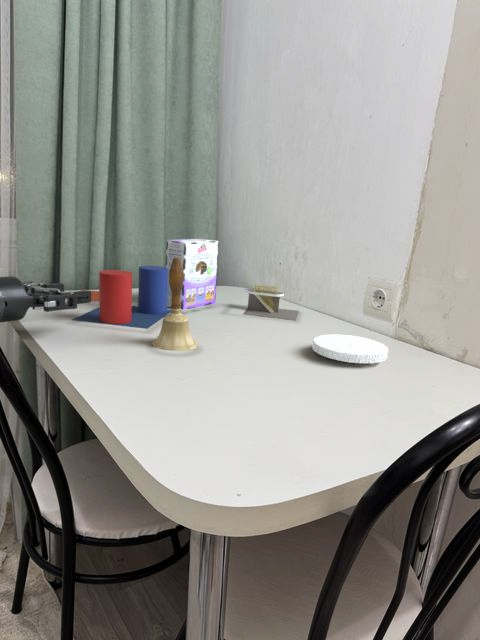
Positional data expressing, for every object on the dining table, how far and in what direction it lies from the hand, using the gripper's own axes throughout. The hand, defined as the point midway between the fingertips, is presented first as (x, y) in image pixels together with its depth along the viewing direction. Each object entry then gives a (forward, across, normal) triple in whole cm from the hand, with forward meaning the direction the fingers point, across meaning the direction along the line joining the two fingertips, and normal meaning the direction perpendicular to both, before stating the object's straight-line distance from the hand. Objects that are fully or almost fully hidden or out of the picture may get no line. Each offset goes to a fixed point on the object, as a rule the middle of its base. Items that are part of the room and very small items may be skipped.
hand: (76, 292), depth 96 cm
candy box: (+35, -4, -7) cm, 36 cm away
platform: (+47, +11, -7) cm, 48 cm away
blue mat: (+14, -3, -7) cm, 16 cm away
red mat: (+21, -23, -7) cm, 32 cm away
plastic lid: (+28, +44, -7) cm, 53 cm away
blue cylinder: (+22, -3, -7) cm, 23 cm away
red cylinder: (+9, 0, -7) cm, 11 cm away
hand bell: (+7, +20, -7) cm, 22 cm away
